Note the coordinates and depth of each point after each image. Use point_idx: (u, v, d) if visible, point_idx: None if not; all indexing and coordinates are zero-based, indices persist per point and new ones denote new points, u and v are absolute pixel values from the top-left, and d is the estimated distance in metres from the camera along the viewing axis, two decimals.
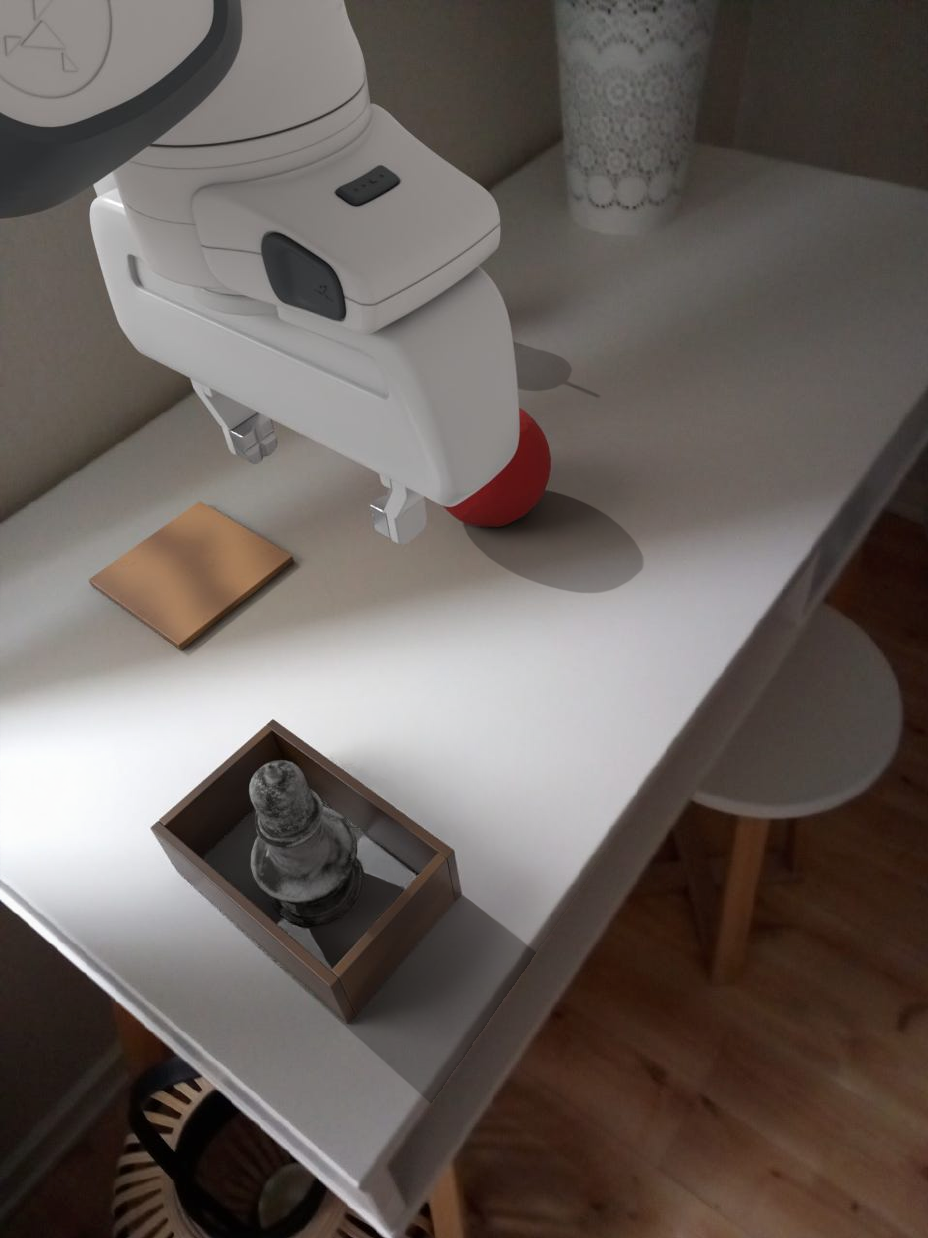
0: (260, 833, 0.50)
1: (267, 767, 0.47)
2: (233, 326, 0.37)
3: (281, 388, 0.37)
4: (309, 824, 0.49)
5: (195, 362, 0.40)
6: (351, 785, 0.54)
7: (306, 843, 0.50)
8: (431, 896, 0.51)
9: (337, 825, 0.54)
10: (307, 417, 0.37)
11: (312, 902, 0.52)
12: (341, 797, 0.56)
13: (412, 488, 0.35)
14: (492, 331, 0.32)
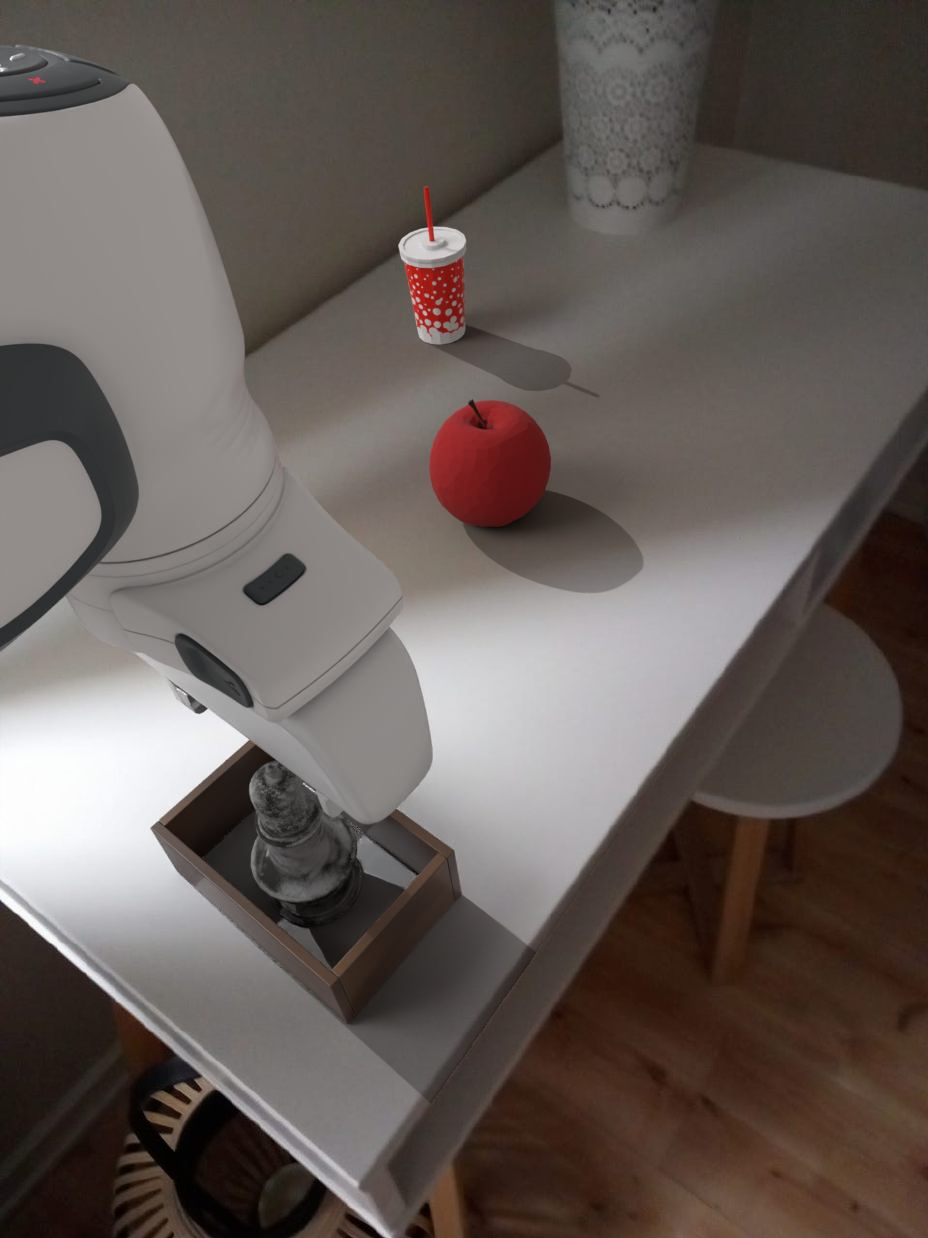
0: (260, 833, 0.50)
1: (267, 767, 0.47)
2: None
3: (212, 695, 0.39)
4: (309, 824, 0.49)
5: None
6: None
7: (306, 843, 0.50)
8: (431, 896, 0.51)
9: (337, 825, 0.54)
10: (237, 722, 0.39)
11: (312, 902, 0.52)
12: None
13: (333, 802, 0.38)
14: (398, 688, 0.34)
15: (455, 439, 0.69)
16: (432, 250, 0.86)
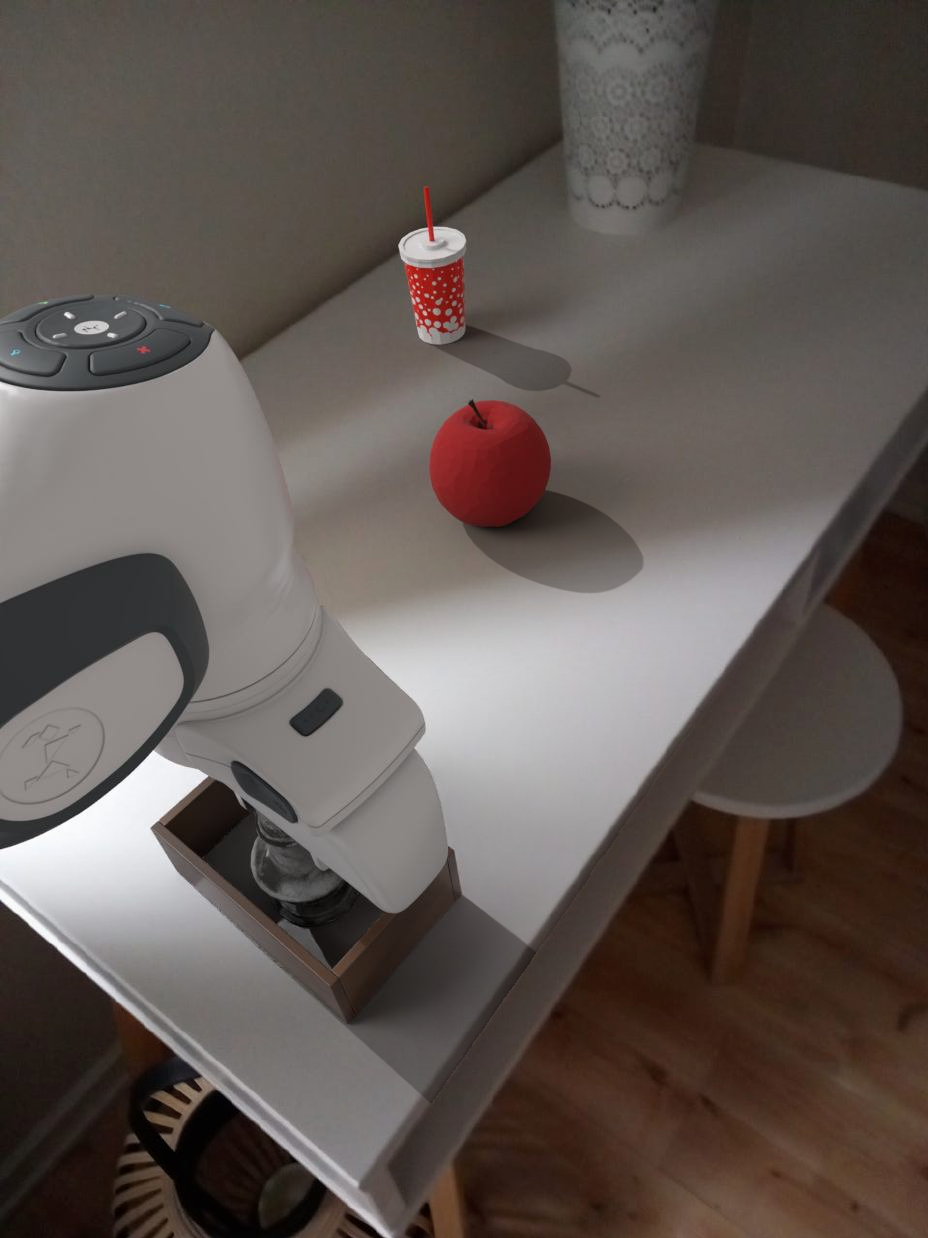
0: (260, 833, 0.50)
1: None
2: None
3: None
4: None
5: None
6: None
7: None
8: (431, 896, 0.51)
9: None
10: (274, 818, 0.45)
11: (312, 902, 0.52)
12: None
13: None
14: (420, 800, 0.40)
15: (455, 439, 0.69)
16: (432, 250, 0.86)
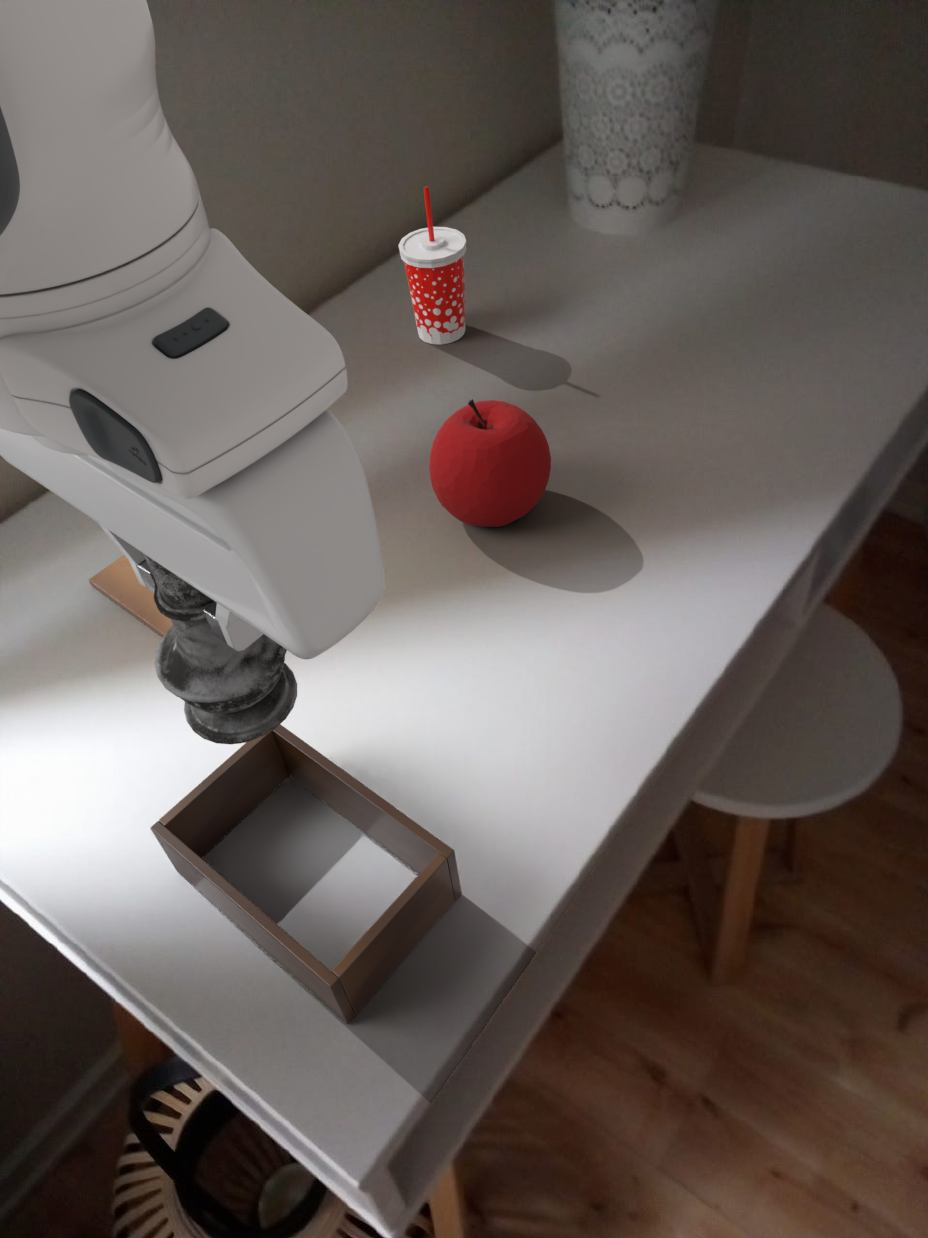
0: (159, 606, 0.39)
1: None
2: None
3: (135, 520, 0.34)
4: None
5: (55, 481, 0.37)
6: (351, 785, 0.54)
7: None
8: (431, 896, 0.51)
9: None
10: (163, 552, 0.34)
11: (229, 706, 0.42)
12: (341, 797, 0.56)
13: (269, 637, 0.33)
14: (341, 482, 0.29)
15: (455, 439, 0.69)
16: (432, 250, 0.86)
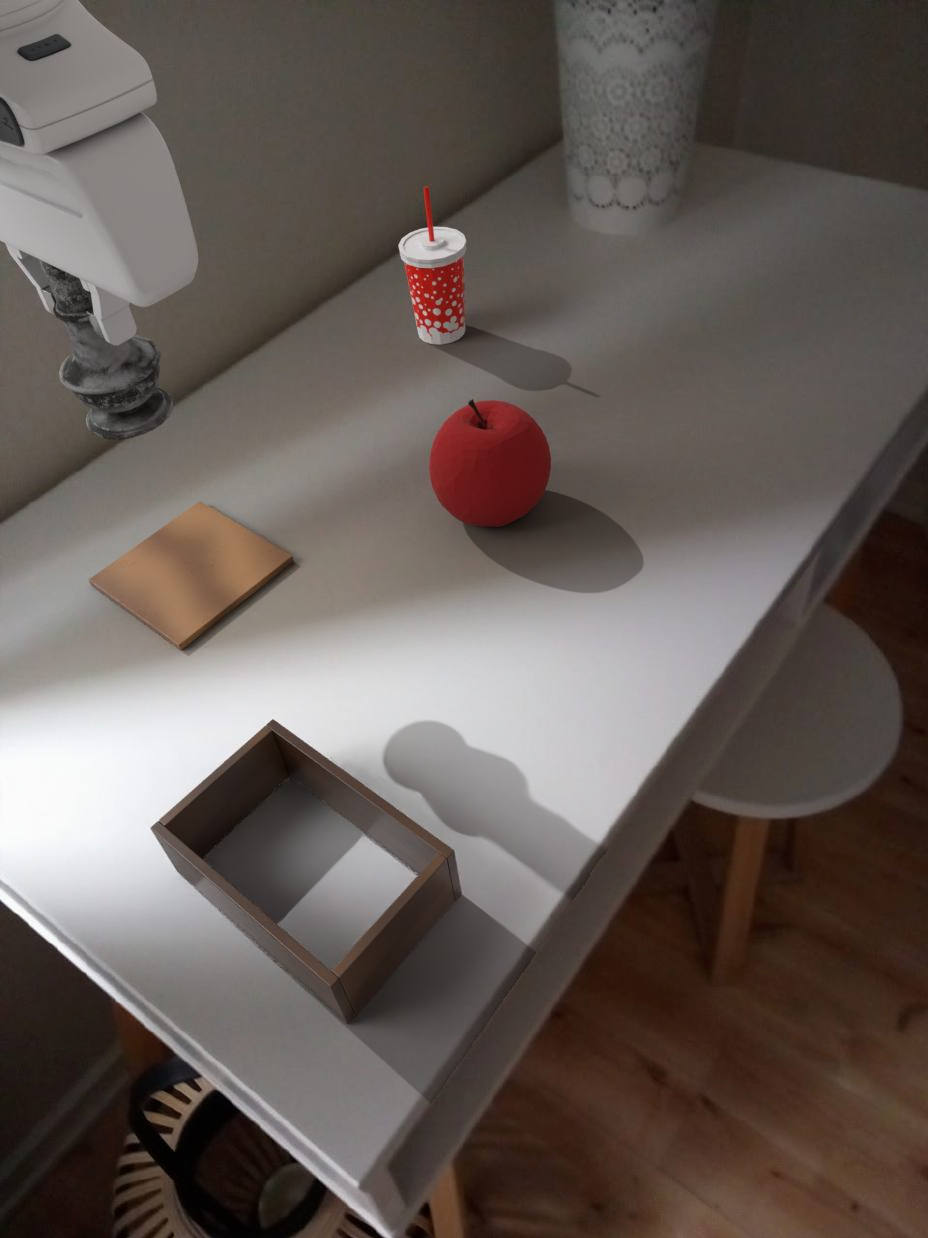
0: (56, 313, 0.53)
1: None
2: None
3: (27, 223, 0.48)
4: None
5: None
6: (351, 785, 0.54)
7: None
8: (431, 896, 0.51)
9: (143, 342, 0.57)
10: (47, 246, 0.48)
11: (114, 400, 0.56)
12: (341, 797, 0.56)
13: (117, 295, 0.47)
14: (153, 162, 0.43)
15: (455, 439, 0.69)
16: (432, 250, 0.86)
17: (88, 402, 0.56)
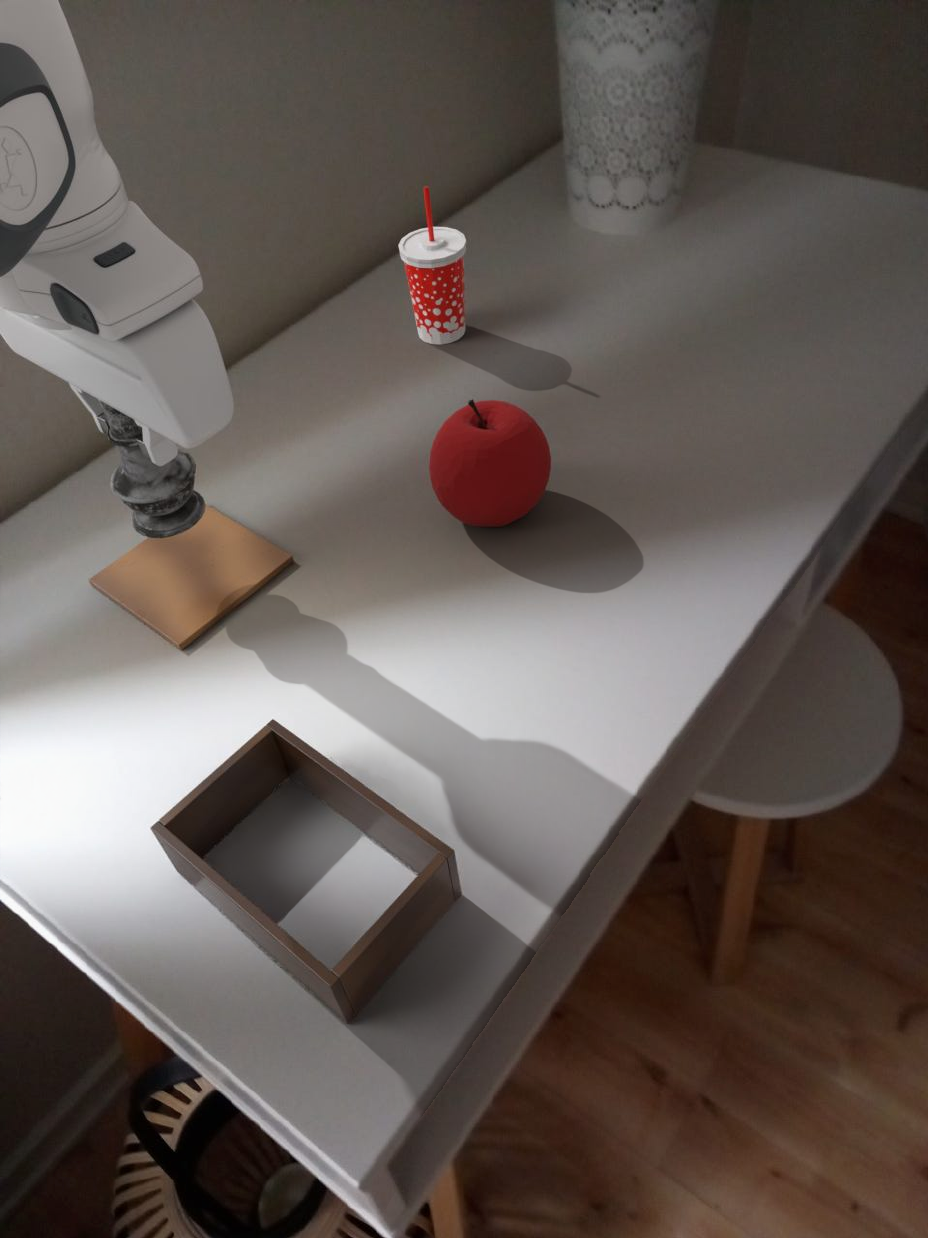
0: (110, 438, 0.63)
1: None
2: (60, 335, 0.58)
3: (91, 374, 0.58)
4: None
5: (45, 358, 0.61)
6: (351, 785, 0.54)
7: None
8: (431, 896, 0.51)
9: (181, 456, 0.67)
10: (108, 393, 0.58)
11: (157, 508, 0.66)
12: (341, 797, 0.56)
13: (167, 437, 0.57)
14: (200, 339, 0.53)
15: (455, 439, 0.69)
16: (432, 250, 0.86)
17: (135, 508, 0.66)
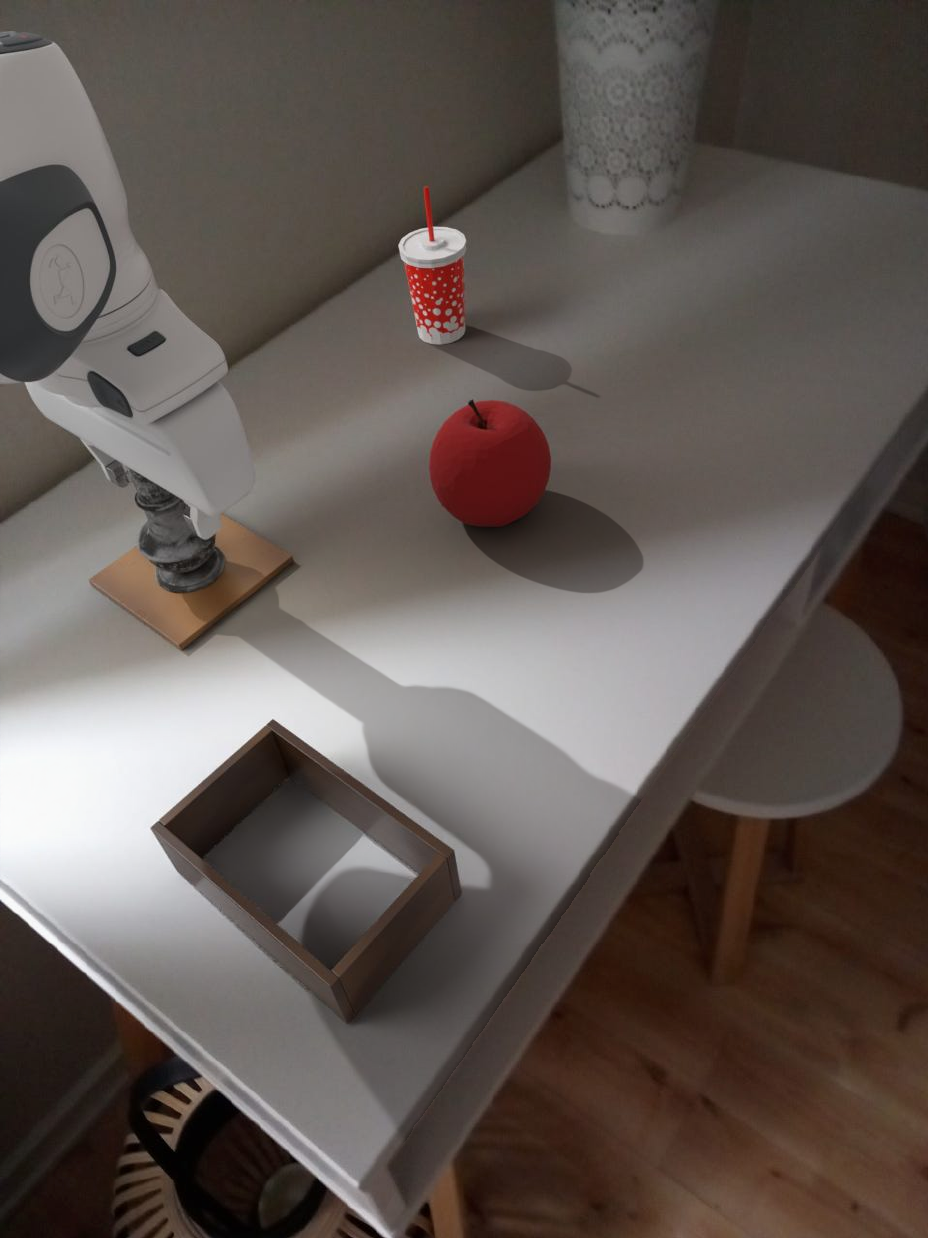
0: (137, 503, 0.67)
1: None
2: (92, 408, 0.62)
3: (121, 445, 0.62)
4: (174, 496, 0.67)
5: (76, 427, 0.65)
6: (351, 785, 0.54)
7: (172, 512, 0.68)
8: (431, 896, 0.51)
9: None
10: (136, 463, 0.62)
11: (181, 566, 0.70)
12: (341, 797, 0.56)
13: (193, 506, 0.61)
14: (225, 418, 0.57)
15: (455, 439, 0.69)
16: (432, 250, 0.86)
17: (160, 567, 0.70)
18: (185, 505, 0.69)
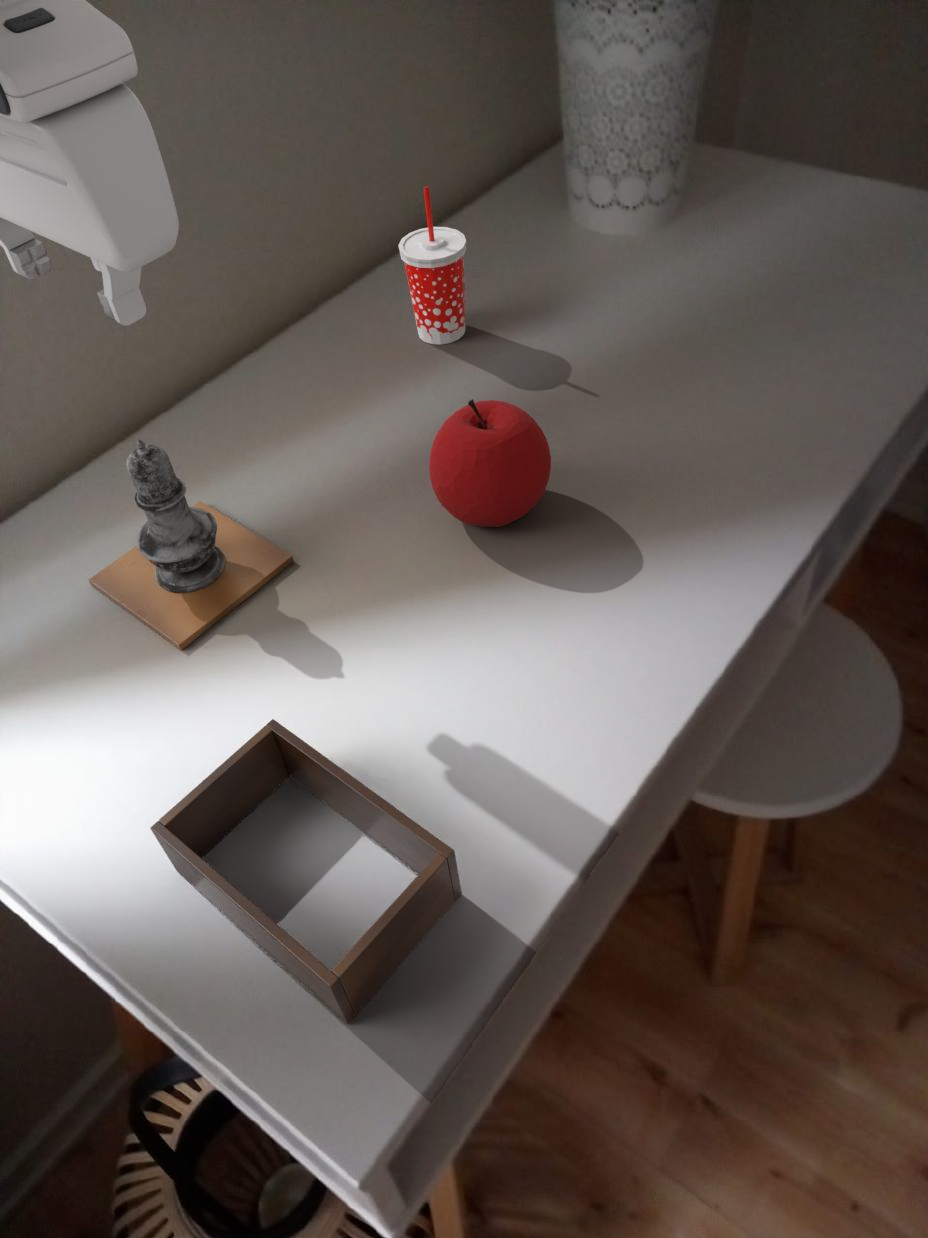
0: (137, 503, 0.67)
1: None
2: None
3: (15, 193, 0.50)
4: (174, 496, 0.67)
5: None
6: (351, 785, 0.54)
7: (172, 512, 0.68)
8: (431, 896, 0.51)
9: (202, 516, 0.71)
10: (34, 215, 0.50)
11: (181, 566, 0.70)
12: (341, 797, 0.56)
13: (101, 260, 0.49)
14: (134, 131, 0.45)
15: (455, 439, 0.69)
16: (432, 250, 0.86)
17: (160, 567, 0.70)
18: (185, 505, 0.69)
